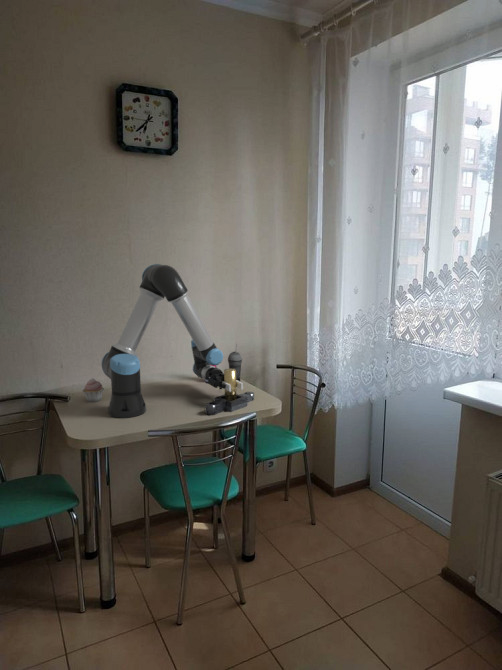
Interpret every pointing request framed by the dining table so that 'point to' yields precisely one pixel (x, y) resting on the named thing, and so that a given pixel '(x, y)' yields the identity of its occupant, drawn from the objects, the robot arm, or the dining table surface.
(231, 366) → the beverage cup
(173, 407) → the dining table surface
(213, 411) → the chain end
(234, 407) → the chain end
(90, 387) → the cupcake
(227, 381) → the gold tall cylinder
